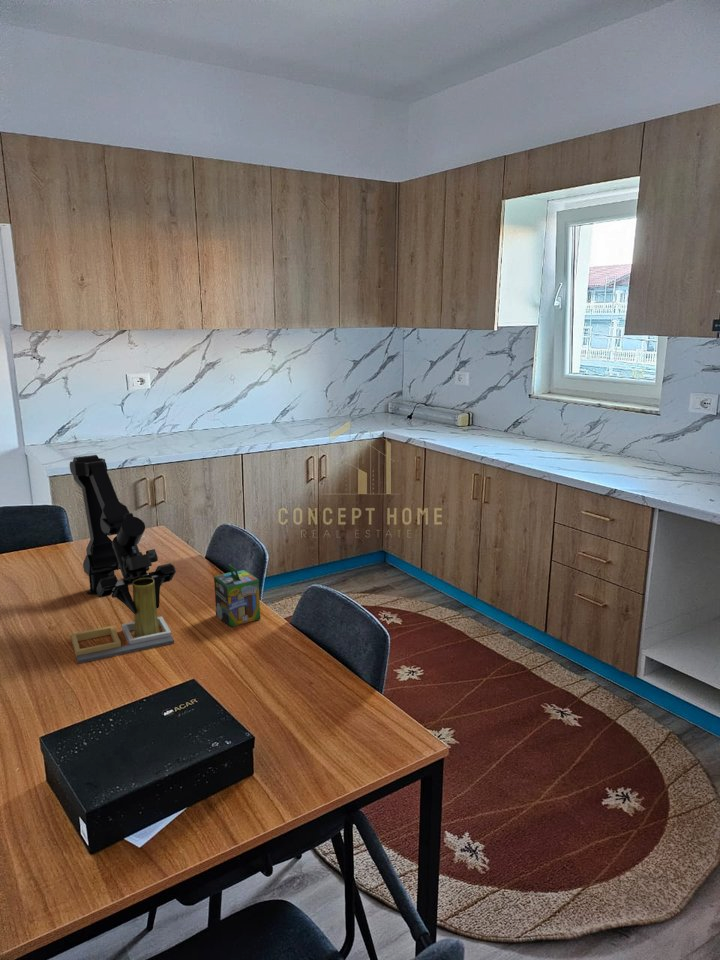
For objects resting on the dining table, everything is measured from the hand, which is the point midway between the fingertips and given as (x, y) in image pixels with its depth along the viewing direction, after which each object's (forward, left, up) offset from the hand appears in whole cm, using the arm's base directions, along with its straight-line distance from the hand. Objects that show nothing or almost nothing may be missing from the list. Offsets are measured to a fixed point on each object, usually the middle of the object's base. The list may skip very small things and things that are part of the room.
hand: (147, 610), depth 168 cm
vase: (-1, +1, -7) cm, 7 cm away
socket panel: (-5, -4, -7) cm, 9 cm away
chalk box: (+17, +16, -7) cm, 24 cm away
